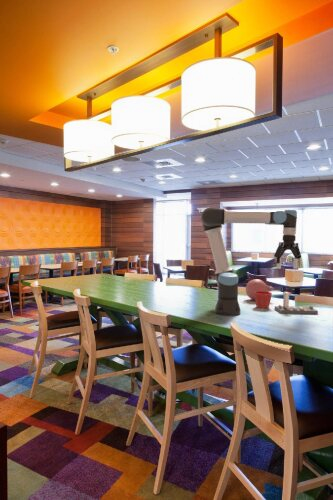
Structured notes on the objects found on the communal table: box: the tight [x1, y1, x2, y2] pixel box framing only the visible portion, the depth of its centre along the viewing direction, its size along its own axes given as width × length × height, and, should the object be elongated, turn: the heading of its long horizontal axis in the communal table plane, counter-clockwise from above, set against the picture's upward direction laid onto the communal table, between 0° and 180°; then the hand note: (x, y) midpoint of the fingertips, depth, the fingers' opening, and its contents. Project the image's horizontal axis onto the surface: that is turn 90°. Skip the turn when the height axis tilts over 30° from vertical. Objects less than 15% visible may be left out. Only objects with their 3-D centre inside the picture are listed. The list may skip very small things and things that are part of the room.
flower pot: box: [254, 291, 273, 309], centre depth 217 cm, size 11×11×10 cm
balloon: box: [245, 278, 275, 301], centre depth 240 cm, size 15×20×15 cm
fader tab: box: [282, 291, 290, 308], centre depth 204 cm, size 3×4×10 cm
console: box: [274, 304, 319, 315], centre depth 204 cm, size 22×12×4 cm, turn 89°
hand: (287, 268), depth 207 cm, fingers open, 13 cm apart
